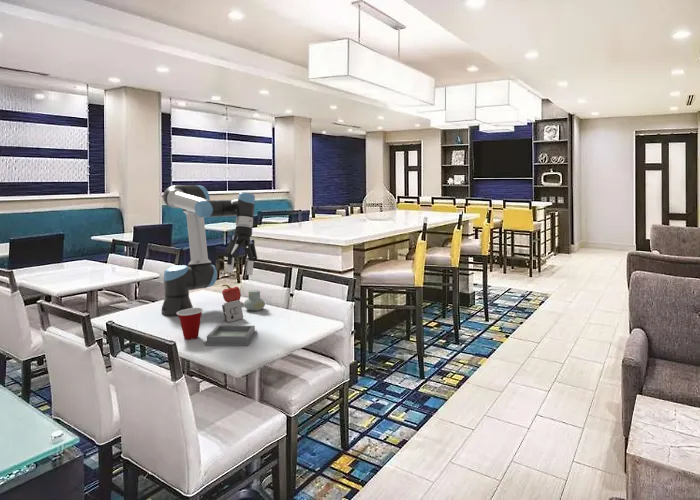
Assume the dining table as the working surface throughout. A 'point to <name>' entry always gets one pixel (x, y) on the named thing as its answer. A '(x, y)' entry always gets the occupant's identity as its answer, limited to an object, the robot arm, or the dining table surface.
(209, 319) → the dining table surface
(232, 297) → the vegetable
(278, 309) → the dining table surface
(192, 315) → the plastic cup
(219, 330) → the pocket tray
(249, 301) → the air freshener
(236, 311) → the electrical switch
